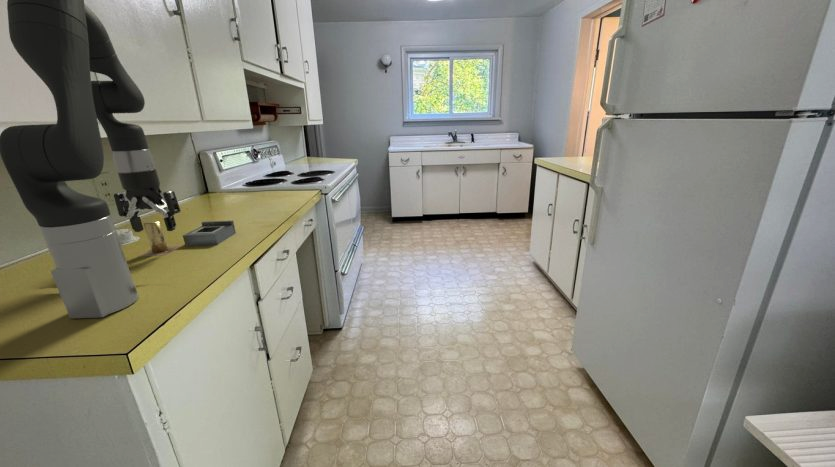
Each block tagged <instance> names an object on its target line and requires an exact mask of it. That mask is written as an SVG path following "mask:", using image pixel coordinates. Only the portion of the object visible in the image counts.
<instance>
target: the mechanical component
mask: <svg viewBox="0 0 835 467" xmlns="http://www.w3.org/2000/svg"><path fill="white" fill-rule="evenodd" d="M116 232H117V235H118V238H119V241H120V244H121V247H122V246H127V245H130V244H134V243H136V242H138V241H139V240H140V237H139V236H137V235H134V234H133V230H132V228H121V229H116Z"/></svg>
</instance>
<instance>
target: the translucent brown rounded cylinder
mask: <svg viewBox="0 0 835 467" xmlns="http://www.w3.org/2000/svg"><path fill="white" fill-rule="evenodd" d="M143 228H144V229H145V233H146V236H147V240H148V243H149V246H150V250H152V253H162V252H165V251H167V250H168V248H167V246H168V245H167V241H166V238H165V235H164V231H163V227H162V224H161V221H160V220H150V221H146V222H143Z"/></svg>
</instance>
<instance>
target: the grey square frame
mask: <svg viewBox="0 0 835 467" xmlns="http://www.w3.org/2000/svg"><path fill="white" fill-rule="evenodd" d="M236 233H237V232H236V227H235V223H234V220H212V221H211V220H210V221H202V222H201V226H199V227H197V228H195V229H192V230H190V231H189V232H187V233H185V234H183V235H182V237H183V241H184V245H185V247H191V246H193V247H194V246H218V245H220V244H221V243H223V242H225V241H227V240H228V239H229V238H231V237H232V236H234V235H236Z"/></svg>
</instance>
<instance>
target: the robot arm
mask: <svg viewBox="0 0 835 467" xmlns="http://www.w3.org/2000/svg"><path fill="white" fill-rule="evenodd" d="M6 3H7V4H6V8H7V10H6V11H7V21H8V32H9V40H10V41H11V44H12V46H13V47H14V49H15V51H16V52H17V53H18V55H19V56H20V57H21V58H22V60H23V61H24V63H26V64H27V65H28V67H29V68H30V69H31V70H32V71H33V72H34V73H35V74H36V75H37V77H39V79H40V80H41V81H42V82H43V83H44V84H45V86H46V87H47V88H48V90H49V91H50V93H51V95H52V97H53V100H54V105H55V108H56V117H57V120H56V123H49V124H48V123H47V124H46V123H45V124H21V125H19V124H18V125H11V126H9V127H6V128H4V129H3V130H2V132H1V133H0V157H1V160H2V162H3V165H4V167H5V169H6V171H7V174H8V175H9V178H10V179H11V181H12V183H13V185H14V188H16V192H17V193H18V195H19V197H20V200H21V201H22V204H23V205H24V207H25V208H26V210H27V211H28V212H29V213H30V214H31V216H32V217H34V219H35V220H36V223H37V224H38V227H39V230H40V232H41V234H42V236H43V239H44V242H45V244H46V246H47V249H48V251H49V255H50V256H51V259H52V261H53V263H54V266H55V268H54V269H51V271H50V274H51V276H52V278H53V280H54V283H55V286H56V287H57V290H58V292H59V293H58V294H59V296H60V298H61V299H62V302H63V305H64V306H65V309H66V311H67V314H68V316H69V319H92V318H93V319H96V318H97V319H99V318H100V319H101V318H104V317H107V316H109V315H110V314H112V313H115V312H118V311H121V310H123V309H125V308H127V307H129V306H131V305H132V304H134V303H135V302H137V300H138V299H139V294H138V291H137V288H136V286H135V282H134V280H133V277H132V273H131V271H130V268H129V264H128V261H127V258H126V257H125V253H124V250H123V248H122V246H121V244H120V241H119V238H118V235H117V232H116V230H117V229H116V227H115V223H114V221H113V218H112V215H111V211H110V208H109V206H108V204H107V202H106V201H105V200H104V199H103V198H102V199H101V198H99V197H95V196H90V195H87V194H83V193H80V192H78V191H76V190H74V189H72V188H71V187H70V186H69V185H68V184H67V182H70V181H71V182H73V181H84V180H87V181H88V180H93V179H96V178H98V177H99V176H100V175H101V173H102V172H103V169H104V160H105V158H104V157H105V156H104V147H103V142H102V136H101V132H100V127H99V126H100V125H101V127H102V129H103V130H104V133H105V134H106V137H107V140H108V143H109V146H110V149H111V152H112V158H113V163H114V166H115V169H116V172H117V174H118V178H119V181H120V183H121V187H122V189H123V190H124V191H119V192H117V193H114V194H113V197H114V202H115V205H116V209H117V213H118V216H119V217H124V218H127V219H129V222H130V225H131V230H132V231H134V232H135V233H140V232H143V231H144V229H145V227H144V224H143V222H142V219H141V216H140V213H141V211H142V210H145V209H146V210H154V211H155V212H157V213H160V214H161V215H162V216H163V221H164V224H165V227H166V231H167V232H173V231H174V230H176V228H177V223H176V219H175V215H177V214H178V213H180V212H181V211H182V210H181V208H180V205H179V202H178V199H177V196H176V194H175V191H174V190H167V191H162V190H161V189H160V186H161V182H160V178H159V176H158V171H157V168H156V165H155V162H154V158H153V156H152V153H151V151H150V149H149V145H148V142H147V138H146V135H145V131H144V129H143V128H142V126H140V125H139V124H135V123H127V122H121V121H119V120H118V119H117V118H116V117H115V116H114V115H113V114H135V113H136V114H137V113H141V112H142V111H143V110H144V108H145V102H146V101H145V98H144V95H143V93H142V91H141V90H140V88H139V86H138V85H137V84H136V82H135V81H134V80H133V78H132V77H131V76H130V75H129V73H128V72H127V71H126V69H125V67H124V66H123V65H122V63H121V60H120V59H119V57H118V55H117V53H116V50H115V48H114V45H113V42H112V40H111V39H110V35H109V33H108V31H107V29H106V27H105V26H104V23H103V22H102V21H101V19H100V18H99V17H98V16H97V14H95V13H94V11H93V10H92V9H91V8H90V7H89V6H88V5H87V4H86V3H85V0H7V1H6ZM91 73H96V74H101V75H103V76H106V77H108V78H109V79H110V80H92V77H91ZM99 124H100V125H99ZM125 191H126V192H125Z"/></svg>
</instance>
